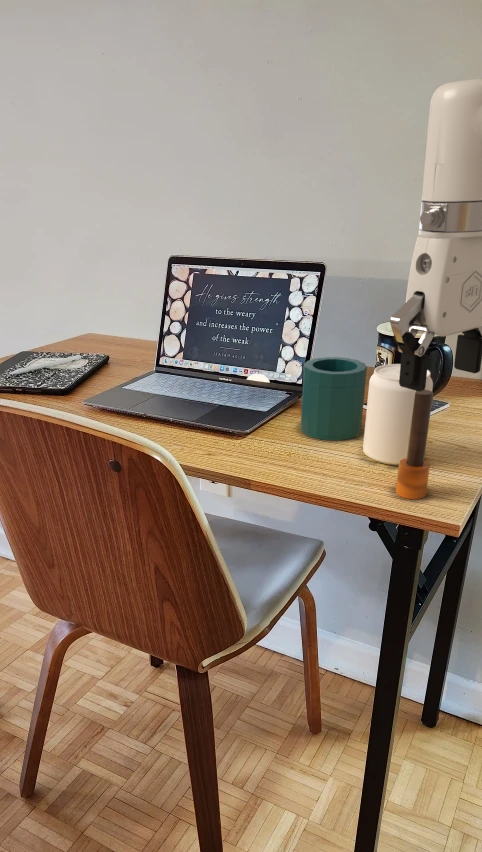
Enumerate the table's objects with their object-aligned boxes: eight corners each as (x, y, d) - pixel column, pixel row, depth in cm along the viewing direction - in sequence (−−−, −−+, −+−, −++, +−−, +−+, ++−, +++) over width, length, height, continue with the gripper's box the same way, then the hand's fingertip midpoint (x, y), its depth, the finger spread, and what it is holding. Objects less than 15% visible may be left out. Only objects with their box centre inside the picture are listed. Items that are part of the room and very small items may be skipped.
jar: (366, 423, 106) (372, 360, 102) (352, 444, 99) (358, 376, 95) (310, 416, 110) (314, 354, 105) (293, 435, 103) (296, 370, 98)
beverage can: (391, 440, 100) (400, 359, 95) (435, 458, 94) (448, 373, 89) (350, 452, 96) (357, 369, 91) (393, 472, 90) (404, 384, 85)
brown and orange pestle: (428, 489, 86) (442, 389, 80) (423, 501, 83) (438, 398, 77) (398, 484, 87) (411, 385, 81) (393, 496, 84) (405, 394, 78)
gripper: (433, 229, 64) (416, 404, 72) (539, 213, 73) (514, 370, 80) (372, 225, 70) (362, 388, 77) (477, 210, 78) (459, 358, 86)
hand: (440, 379), depth 79 cm, fingers open, 9 cm apart
